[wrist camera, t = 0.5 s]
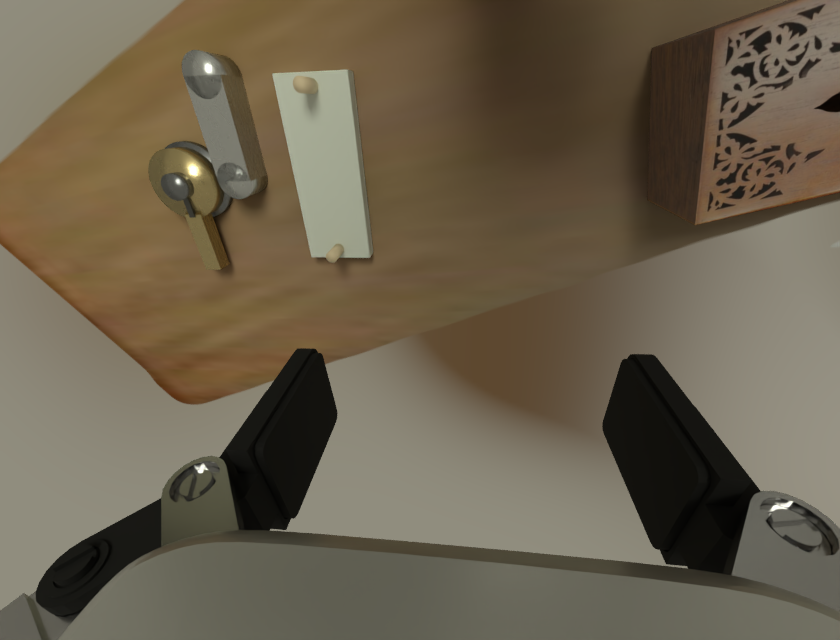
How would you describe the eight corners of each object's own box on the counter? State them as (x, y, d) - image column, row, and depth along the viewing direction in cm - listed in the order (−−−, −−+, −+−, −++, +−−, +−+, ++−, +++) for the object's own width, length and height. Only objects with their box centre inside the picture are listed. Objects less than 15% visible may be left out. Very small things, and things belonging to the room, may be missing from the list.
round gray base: (151, 142, 42) (146, 142, 41) (218, 140, 41) (214, 140, 40) (181, 215, 47) (176, 217, 46) (242, 215, 46) (238, 217, 45)
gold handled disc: (149, 147, 41) (126, 150, 38) (210, 145, 40) (191, 149, 38) (197, 263, 49) (180, 272, 46) (248, 263, 48) (235, 273, 46)
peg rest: (281, 74, 37) (257, 71, 32) (353, 71, 36) (338, 66, 32) (317, 251, 47) (302, 266, 43) (373, 252, 46) (364, 267, 42)
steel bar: (242, 192, 44) (224, 199, 41) (201, 56, 37) (175, 51, 33) (271, 191, 44) (255, 199, 40) (236, 53, 36) (213, 49, 33)
